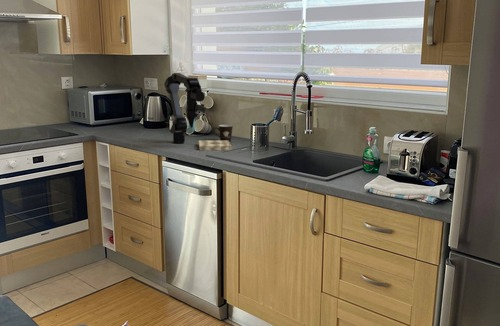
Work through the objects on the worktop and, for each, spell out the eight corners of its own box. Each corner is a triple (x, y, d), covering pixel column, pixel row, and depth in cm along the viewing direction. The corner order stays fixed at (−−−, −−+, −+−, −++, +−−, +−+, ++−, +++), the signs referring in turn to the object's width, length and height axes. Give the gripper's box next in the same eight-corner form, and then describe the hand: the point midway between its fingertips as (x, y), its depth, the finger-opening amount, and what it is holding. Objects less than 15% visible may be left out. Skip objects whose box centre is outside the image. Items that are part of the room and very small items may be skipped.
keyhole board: (199, 150, 284) (199, 146, 283) (198, 144, 301) (198, 140, 300) (231, 150, 286) (231, 145, 286) (228, 144, 304) (228, 140, 303)
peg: (187, 131, 287) (187, 115, 285) (187, 130, 291) (187, 114, 289) (195, 131, 287) (195, 115, 285) (195, 130, 292) (195, 114, 290)
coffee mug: (234, 140, 316) (234, 125, 314) (229, 143, 308) (229, 127, 306) (217, 139, 320) (217, 124, 318) (212, 141, 312) (212, 125, 310)
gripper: (206, 101, 278) (206, 129, 281) (204, 98, 296) (204, 124, 299) (186, 101, 276) (186, 129, 280) (186, 98, 294) (186, 124, 298)
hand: (191, 127), depth 289 cm, fingers closed on peg, 4 cm apart
